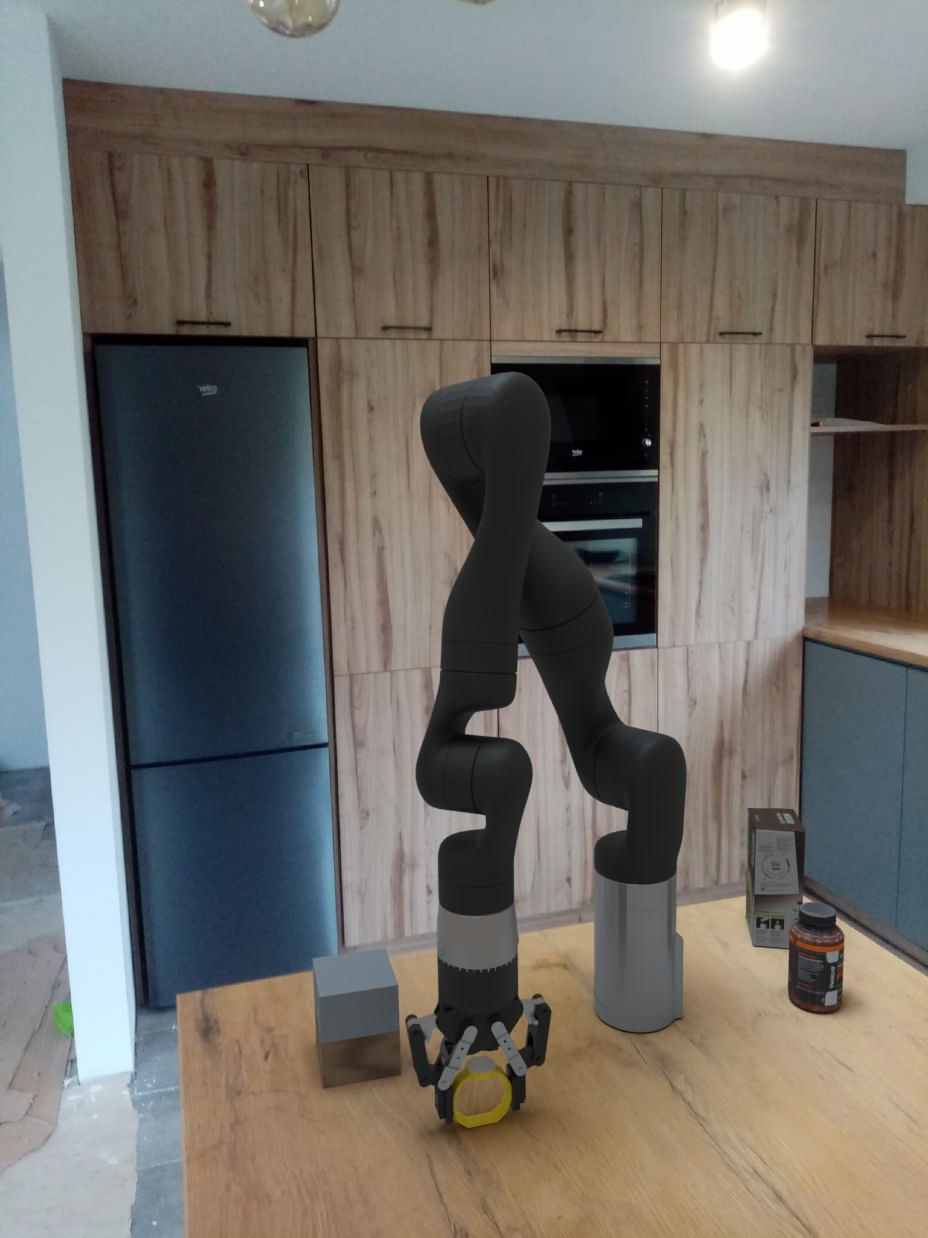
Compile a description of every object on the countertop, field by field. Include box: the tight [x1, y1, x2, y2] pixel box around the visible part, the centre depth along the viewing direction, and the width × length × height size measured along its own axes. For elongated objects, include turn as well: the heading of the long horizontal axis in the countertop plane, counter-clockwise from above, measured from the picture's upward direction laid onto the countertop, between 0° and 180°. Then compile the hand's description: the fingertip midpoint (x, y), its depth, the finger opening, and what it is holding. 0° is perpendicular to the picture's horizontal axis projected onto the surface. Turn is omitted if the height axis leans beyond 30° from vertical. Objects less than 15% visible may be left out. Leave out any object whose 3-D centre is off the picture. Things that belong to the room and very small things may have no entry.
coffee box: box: [745, 807, 807, 950], centre depth 119 cm, size 9×6×16 cm
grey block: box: [311, 947, 401, 1044], centre depth 94 cm, size 8×8×5 cm
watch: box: [451, 1055, 512, 1129], centre depth 84 cm, size 6×3×6 cm, turn 106°
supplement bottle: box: [787, 901, 845, 1013], centre depth 103 cm, size 6×6×11 cm
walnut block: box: [313, 1002, 402, 1090], centre depth 94 cm, size 8×8×5 cm
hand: (480, 1111), depth 84 cm, fingers closed on watch, 6 cm apart
